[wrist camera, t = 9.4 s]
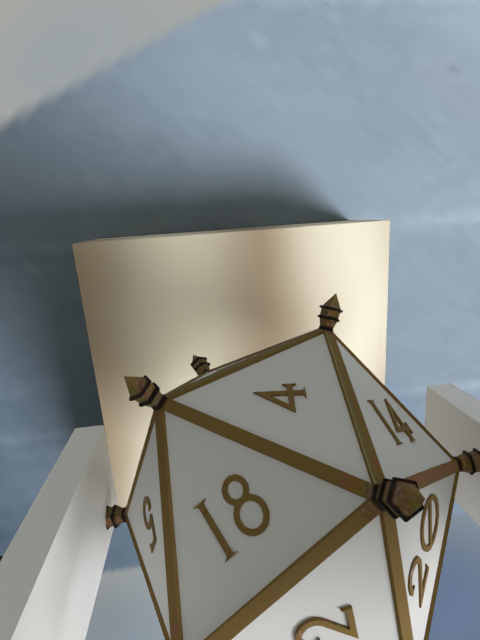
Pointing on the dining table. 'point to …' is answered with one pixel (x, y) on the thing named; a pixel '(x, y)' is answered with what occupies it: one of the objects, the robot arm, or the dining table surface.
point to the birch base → (220, 307)
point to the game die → (290, 499)
